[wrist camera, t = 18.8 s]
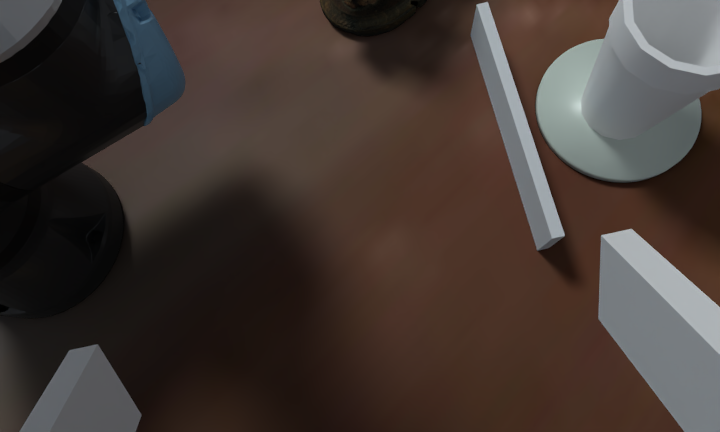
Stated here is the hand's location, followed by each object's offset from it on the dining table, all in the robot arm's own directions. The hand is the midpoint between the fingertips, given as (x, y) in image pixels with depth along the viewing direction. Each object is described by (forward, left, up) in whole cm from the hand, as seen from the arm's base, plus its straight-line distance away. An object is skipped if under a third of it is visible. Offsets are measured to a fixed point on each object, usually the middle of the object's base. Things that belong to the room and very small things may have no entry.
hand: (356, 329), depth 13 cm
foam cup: (-4, +29, -29) cm, 41 cm away
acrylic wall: (-8, +20, -30) cm, 37 cm away
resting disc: (-4, +29, -30) cm, 42 cm away
